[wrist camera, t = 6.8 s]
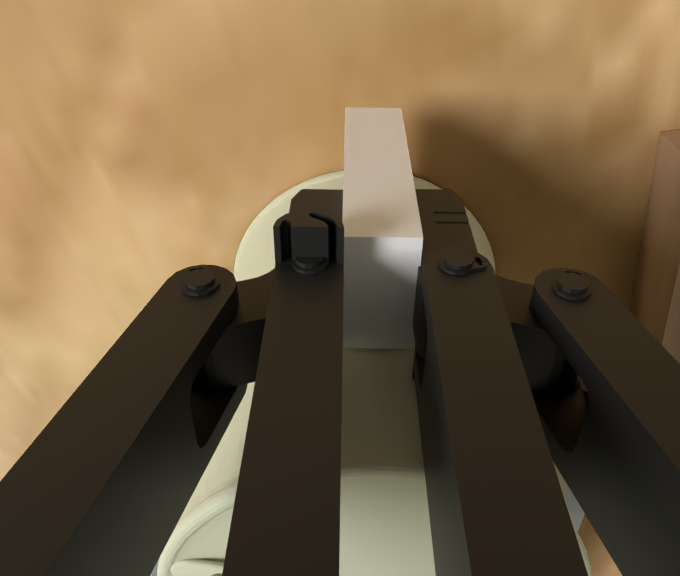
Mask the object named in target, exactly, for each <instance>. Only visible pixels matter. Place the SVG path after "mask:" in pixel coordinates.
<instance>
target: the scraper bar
mask: <svg viewBox="0 0 680 576" xmlns="http://www.w3.org/2000/svg"><path fill="white" fill-rule="evenodd" d="M630 312H631V313H632V314H633V315H634V316H635V317H636V318H637V319H638V321H639V322H640V323H641V324H642V325H643V326H644V327H645V328H646V329H647V330H648V331H649V332H650V333H651V334H652V335H653V336H654V337H655V338H656V339H657V341H658V342H659V343H660V344H661V345H662V346H663V347H664V348H665V349H666V350H667V351H668V352H669V353H670V354H671V355H672V356H673V357H674V358H675V359H676V360H677V362H678V363H679V364H680V129H678V130H669V131H660V137H659V142H658V148H657V154H656V160H655V166H654V172H653V177H652V183H651V189H650V195H649V201H648V207H647V213H646V218H645V224H644V230H643V236H642V242H641V248H640V253H639V259H638V265H637V271H636V277H635V283H634V289H633V294H632V300H631V306H630Z"/></svg>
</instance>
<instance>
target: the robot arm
mask: <svg viewBox="0 0 680 576" xmlns="http://www.w3.org/2000/svg"><path fill="white" fill-rule="evenodd" d="M273 235H274V251H275V268H274V269H273V270H271V271H270V272H268V273H266V274H264V275H262V276H259V277H256V278H252V279H248V280H242V281H237V282H236V279H235V276H234V274H233V273H231V272H230V271H229V270H227V269H226V268H222V267H219V266H216V265H197V266H192V267H187V268H185V269H183V270H180V271H178V272H176V273H175V274H173V275H172V276H171V277H170V278H169V279H167V281H166V282H165V283H164V284H163V285H162V287H161V288H160V289H159V290H158V292H157V293H156V294H155V295H154V296H153V298H152V299H151V300H150V301H149V302H148V304H147V305H146V306H145V307H144V308H143V310H142V311H141V312H140V313H139V314H138V316H137V317H136V318H135V319H134V321H133V322H132V323H131V324H130V325H129V327H128V328H127V329H126V330H125V331H124V333H123V334H122V335H121V336H120V337H119V339H118V340H117V341H116V342H115V344H114V345H113V346H112V347H111V348H110V350H109V351H108V352H107V353H106V354H105V356H104V357H103V358H102V359H101V360H100V362H99V363H98V364H97V365H96V366H95V368H94V369H93V370H92V371H91V373H90V374H89V375H88V376H87V377H86V379H85V380H84V381H83V382H82V383H81V385H80V386H79V387H78V388H77V389H76V391H75V392H74V393H73V394H72V396H71V397H70V398H69V399H68V400H67V402H66V403H65V404H64V405H63V406H62V408H61V409H60V410H59V411H58V412H57V414H56V415H55V416H54V417H53V418H52V420H51V421H50V422H49V423H48V425H47V426H46V427H45V428H44V429H43V431H42V432H41V433H40V434H39V435H38V437H37V438H36V439H35V440H34V441H33V443H32V444H31V445H30V446H29V447H28V449H27V450H26V451H25V452H24V454H23V455H22V456H21V457H20V458H19V460H18V461H17V462H16V463H15V464H14V466H13V467H12V468H11V469H10V470H9V472H8V473H7V474H6V475H5V477H4V478H3V479H2V480H1V481H0V576H150V575H151V573H152V571H153V569H154V567H155V565H156V563H157V561H158V559H159V557H160V556H161V554H162V552H163V550H164V548H165V546H166V544H167V542H168V540H169V538H170V536H171V535H172V533H173V531H174V529H175V527H176V525H177V523H178V521H179V519H180V517H181V515H182V514H183V512H184V510H185V508H186V506H187V504H188V502H189V500H190V498H191V496H192V494H193V493H194V491H195V489H196V487H197V485H198V483H199V481H200V479H201V477H202V475H203V473H204V472H205V470H206V468H207V466H208V464H209V462H210V460H211V458H212V456H213V454H214V452H215V451H216V449H217V447H218V445H219V443H220V441H221V439H222V437H223V435H224V433H225V432H226V430H227V428H228V426H229V424H230V422H231V420H232V418H233V416H234V414H235V412H236V411H237V409H238V407H239V405H240V403H241V401H242V399H243V397H244V395H245V393H246V390H247V385H248V383H252V382H255V385H254V391H253V396H252V402H251V408H250V414H249V420H248V426H247V431H246V437H245V443H244V449H243V455H242V461H241V467H240V472H239V478H238V484H237V490H236V496H235V502H234V507H233V513H232V519H231V525H230V531H229V537H228V543H227V548H226V554H225V560H224V566H223V572H222V576H339V558H340V492H341V426H342V360H343V348H383V349H412V346H413V336H414V340H415V354H414V363H413V373H412V379H415V387H416V396H417V406H418V415H419V424H420V434H421V443H422V452H423V462H424V471H425V480H426V490H427V499H428V508H429V518H430V527H431V536H432V546H433V555H434V564H435V574H436V576H588V573H587V570H586V566H585V563H584V560H583V557H582V554H581V550H580V547H579V544H578V541H577V537H576V534H575V531H574V528H573V524H572V521H571V518H570V515H569V512H568V508H567V505H566V502H565V499H564V495H563V492H562V489H561V486H560V483H559V479H558V476H557V473H556V470H555V466H554V464H555V465H556V467H557V469H558V470H559V472H560V473H561V475H562V477H563V478H564V480H565V482H566V483H567V485H568V487H569V488H570V490H571V492H572V493H573V495H574V496H575V498H576V500H577V501H578V503H579V505H580V506H581V508H582V510H583V511H584V513H585V515H586V516H587V518H588V519H589V521H590V523H591V524H592V526H593V528H594V529H595V531H596V533H597V534H598V536H599V537H600V539H601V541H602V542H603V544H604V546H605V547H606V549H607V551H608V552H609V554H610V556H611V557H612V559H613V560H614V562H615V564H616V565H617V567H618V569H619V570H620V572H621V574H622V575H623V576H680V364H679V363H678V362H677V360H676V359H675V358H674V357H673V356H672V355H671V354H670V353H669V352H668V351H667V350H666V349H665V348H664V347H663V346H662V345H661V344H660V343H659V342H658V341H657V339H656V338H655V337H654V336H653V335H652V334H651V333H650V332H649V331H648V330H647V329H646V328H645V327H644V326H643V325H642V324H641V323H640V322H639V321H638V319H637V318H636V317H635V316H634V315H633V314H632V313H631V312H630V311H629V310H628V309H627V308H626V307H625V306H624V305H623V304H622V303H621V302H620V301H619V300H618V298H617V297H616V296H615V295H614V294H613V293H612V292H611V291H610V290H609V289H608V288H607V287H606V286H605V285H604V284H603V283H602V282H600V281H599V280H598V279H596V278H595V277H593V276H591V275H589V274H586V273H584V272H582V271H578V270H573V269H567V268H562V269H550V270H547V271H543V272H542V273H541V274H539V275H538V276H537V277H536V279H535V284H534V285H529V284H524V283H520V282H515V281H511V280H508V279H504V278H502V277H500V276H498V275H495V273H494V270H493V266H492V265H491V263H490V262H489V260H488V259H487V258H486V257H484V256H483V255H481V254H480V253H478V251H477V248H476V244H475V241H474V238H473V234H472V231H471V227H470V224H469V220H468V217H467V214H466V210H465V207H464V203H463V200H462V199H461V198H460V197H458V196H457V195H456V194H455V193H454V192H453V191H452V190H448V189H415V186H414V180H413V174H412V168H411V162H410V157H409V151H408V145H407V139H406V133H405V127H404V121H403V115H402V110H401V108H347V107H345V139H344V177H343V190H338V189H301V190H300V191H299V192H298V193H297V194H296V195H295V196H294V197H293V198H292V199H291V203H290V209H289V213H287V214H285V215H283V216H282V217H280V218H278V219H277V220H276V222H275V224H274V225H273ZM553 462H554V463H553Z"/></svg>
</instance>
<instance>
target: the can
mask: <svg viewBox="0 0 680 576" xmlns="http://www.w3.org/2000/svg"><path fill="white" fill-rule="evenodd" d="M343 177H344V170H343V171H337V172H332V173H327V174H324V175H321V176H317V177H314V178H312V179H309V180H307V181H304V182H302V183H300V184H298V185H296V186H294V187H292V188H290V189H289V190H287V191H286V192H284V193H283V194H281V195H280V196H278V197H277V198H275V199H274V200H273V201H272V202H271V203H270V204H269V205H267V206H266V207H265V208H264V209H263V210H262V211H261V212H260V213H259V215H258V216H257V217H256V218H255V219H254V221H253V222H252V223H251V225H250V226H249V228H248V230H247V231H246V233H245V235H244V237H243V239H242V241H241V244H240V246H239V249H238V252H237V256H236V261H235V266H234V276H235V279H236V282H237V281H242V280H248V279H252V278H256V277H259V276H262V275H264V274H266V273H268V272H270V271H271V270H273V269H274V268H275V251H274V235H273V225H274V224H275V222H276V220H277V219H278V218H280V217H282V216H283V215H285V214H287V213H289V209H290V203H291V199H292V198H293V197H294V196H295V195H296V194H297V193H298V192H299V191H300V190H301V189H338V190H343ZM413 180H414V186H415V189H441V188H439V187H437V186H436V185H434V184H432V183H430V182H428V181H425V180H423V179H420V178H417V177H414V176H413ZM464 207H465V206H464ZM465 210H466V214H467V217H468V220H469V224H470V227H471V231H472V234H473V238H474V241H475V244H476V248H477V251H478V253H480V254H481V255H483V256H484V257H486V258H487V259H488V260H489V262H490V263H491V265H492V266H493V270H494V273H495V262H494V257H493V253H492V249H491V246H490V243H489V241H488V239H487V236H486V234H485V232H484V231H483V229H482V227H481V225H480V224H479V223H478V221H477V220H476V219H475V217H474V216H473V215H472V213H471V212H470V211H469V210H468V209H467V208H466V207H465ZM495 275H496V273H495ZM414 354H415V340H414V336H413V346H412V349H383V348H343V360H342V426H341V492H340V558H339V576H436V574H435V564H434V555H433V546H432V536H431V527H430V518H429V508H428V499H427V490H426V480H425V471H424V462H423V452H422V443H421V434H420V424H419V415H418V406H417V396H416V387H415V379H412V373H413V363H414ZM254 385H255V382H252V383H248V385H247V390H246V393H245V395H244V397H243V399H242V401H241V403H240V405H239V407H238V409H237V411H236V412H235V414H234V416H233V418H232V420H231V422H230V424H229V426H228V428H227V430H226V432H225V433H224V435H223V437H222V439H221V441H220V443H219V445H218V447H217V449H216V451H215V452H214V454H213V456H212V458H211V460H210V462H209V464H208V466H207V468H206V470H205V472H204V473H203V475H202V477H201V479H200V481H199V483H198V485H197V487H196V489H195V491H194V493H193V494H192V496H191V498H190V500H189V502H188V504H187V506H186V508H185V510H184V512H183V514H182V515H181V517H180V519H179V521H178V523H177V525H176V527H175V529H174V531H173V533H172V535H171V536H170V538H169V540H168V542H167V544H166V546H165V548H164V550H163V552H162V554H161V556H160V558H159V562H158V568H157V576H222V572H223V566H224V560H225V554H226V548H227V543H228V537H229V531H230V525H231V519H232V513H233V507H234V502H235V496H236V490H237V484H238V478H239V472H240V467H241V461H242V455H243V449H244V443H245V437H246V431H247V426H248V420H249V414H250V408H251V402H252V396H253V391H254ZM555 470H556V469H555ZM556 473H557V472H556ZM559 483H560V482H559ZM560 486H561V485H560ZM561 489H562V488H561ZM562 492H563V491H562ZM563 495H564V494H563ZM564 499H565V497H564ZM565 502H566V500H565ZM566 505H567V503H566ZM567 508H568V506H567ZM568 512H569V509H568ZM569 515H570V518H571V521H572V524H573V528H574V531H575V534H576V537H577V541H578V544H579V547H580V550H581V554H582V557H583V560H584V563H585V566H586V570H587V573H588V576H592V575H591V565H590V561H589V557H588V554H587V550H586V548H585V546H584V544H583V542H582V540H581V538H580V536H579V535H578V532H577V530H576V527H575V525H574V522H573V519H572V517H571V514H570V512H569Z"/></svg>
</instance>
